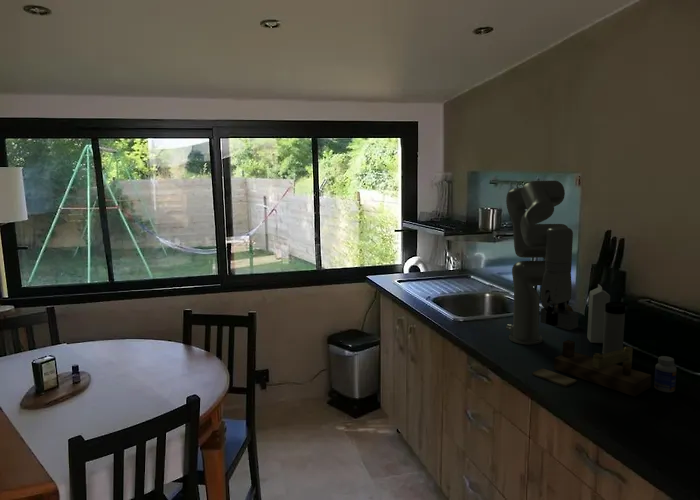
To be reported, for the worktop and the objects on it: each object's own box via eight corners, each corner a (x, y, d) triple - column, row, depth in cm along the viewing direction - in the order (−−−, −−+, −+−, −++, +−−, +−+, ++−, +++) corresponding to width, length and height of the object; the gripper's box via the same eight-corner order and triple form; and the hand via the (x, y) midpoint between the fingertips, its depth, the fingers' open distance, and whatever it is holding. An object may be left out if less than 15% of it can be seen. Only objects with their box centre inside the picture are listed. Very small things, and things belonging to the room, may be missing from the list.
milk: (590, 342, 188) (593, 287, 184) (587, 337, 193) (589, 283, 190) (607, 343, 186) (610, 287, 182) (603, 338, 192) (606, 283, 188)
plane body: (553, 369, 165) (554, 343, 163) (570, 361, 170) (571, 337, 169) (634, 396, 144) (636, 367, 142) (650, 387, 149) (652, 359, 148)
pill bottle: (675, 394, 144) (677, 363, 143) (653, 390, 147) (656, 360, 146) (674, 387, 149) (677, 357, 147) (653, 383, 152) (656, 353, 150)
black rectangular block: (540, 322, 157) (541, 308, 156) (548, 319, 159) (549, 306, 158) (569, 330, 149) (570, 315, 148) (578, 326, 151) (578, 313, 150)
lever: (625, 371, 151) (627, 344, 150) (632, 374, 149) (634, 347, 148) (590, 381, 145) (592, 354, 144) (597, 384, 143) (599, 356, 142)
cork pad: (531, 374, 161) (531, 372, 161) (542, 369, 164) (542, 368, 164) (565, 387, 151) (565, 385, 151) (576, 381, 155) (576, 380, 154)
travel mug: (625, 360, 169) (629, 305, 166) (605, 360, 171) (608, 304, 168) (619, 354, 176) (623, 300, 172) (600, 353, 177) (603, 299, 174)
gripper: (562, 261, 160) (560, 315, 163) (531, 269, 150) (529, 326, 153) (584, 264, 153) (581, 320, 156) (553, 272, 144) (551, 332, 147)
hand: (555, 322), depth 155 cm, fingers closed on black rectangular block, 4 cm apart
